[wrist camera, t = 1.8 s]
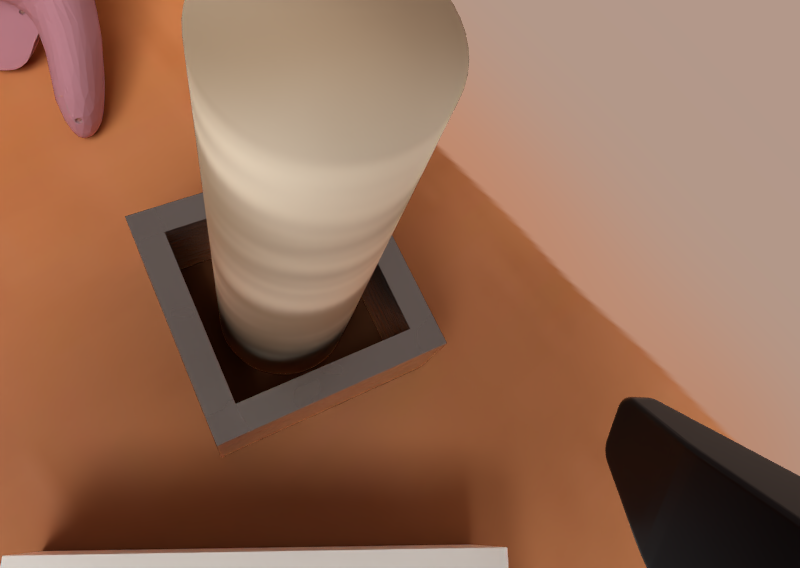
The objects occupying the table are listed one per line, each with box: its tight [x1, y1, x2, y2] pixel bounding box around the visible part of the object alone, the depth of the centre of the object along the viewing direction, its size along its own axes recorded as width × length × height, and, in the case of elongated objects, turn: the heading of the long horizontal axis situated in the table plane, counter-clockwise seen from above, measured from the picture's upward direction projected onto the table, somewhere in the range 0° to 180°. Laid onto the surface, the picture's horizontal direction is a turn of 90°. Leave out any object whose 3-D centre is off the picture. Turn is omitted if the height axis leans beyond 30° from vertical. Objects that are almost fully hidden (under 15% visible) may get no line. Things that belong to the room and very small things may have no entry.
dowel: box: [182, 0, 469, 374], centre depth 15 cm, size 4×4×13 cm
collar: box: [125, 193, 446, 458], centre depth 20 cm, size 7×7×3 cm
